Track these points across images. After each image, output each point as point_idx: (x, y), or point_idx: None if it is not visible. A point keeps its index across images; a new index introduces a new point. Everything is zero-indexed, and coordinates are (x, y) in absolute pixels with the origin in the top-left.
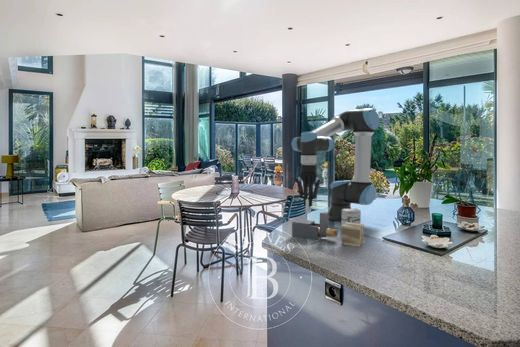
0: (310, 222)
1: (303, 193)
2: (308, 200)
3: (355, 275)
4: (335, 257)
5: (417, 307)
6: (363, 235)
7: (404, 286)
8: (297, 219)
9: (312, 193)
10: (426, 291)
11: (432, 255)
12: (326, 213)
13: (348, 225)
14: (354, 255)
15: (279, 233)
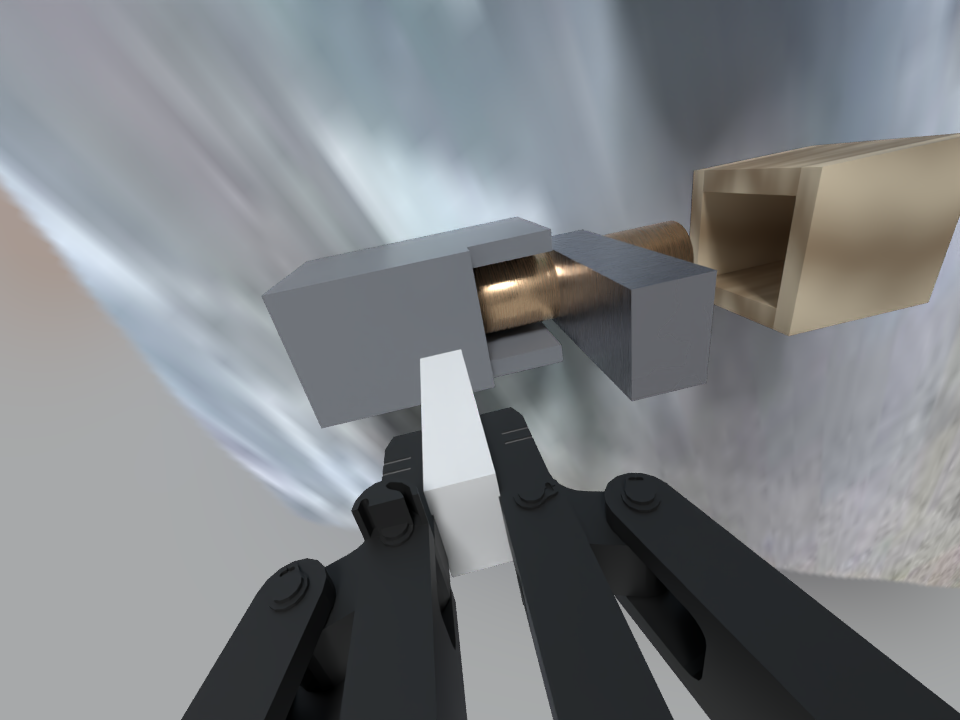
0: (470, 335)
1: (289, 688)
2: (511, 555)
3: (784, 547)
4: (699, 474)
5: (907, 581)
6: (861, 142)
7: (907, 522)
8: (276, 314)
9: (622, 628)
10: (953, 513)
11: None
12: (706, 363)
13: (842, 288)
14: (770, 406)
15: (197, 350)
